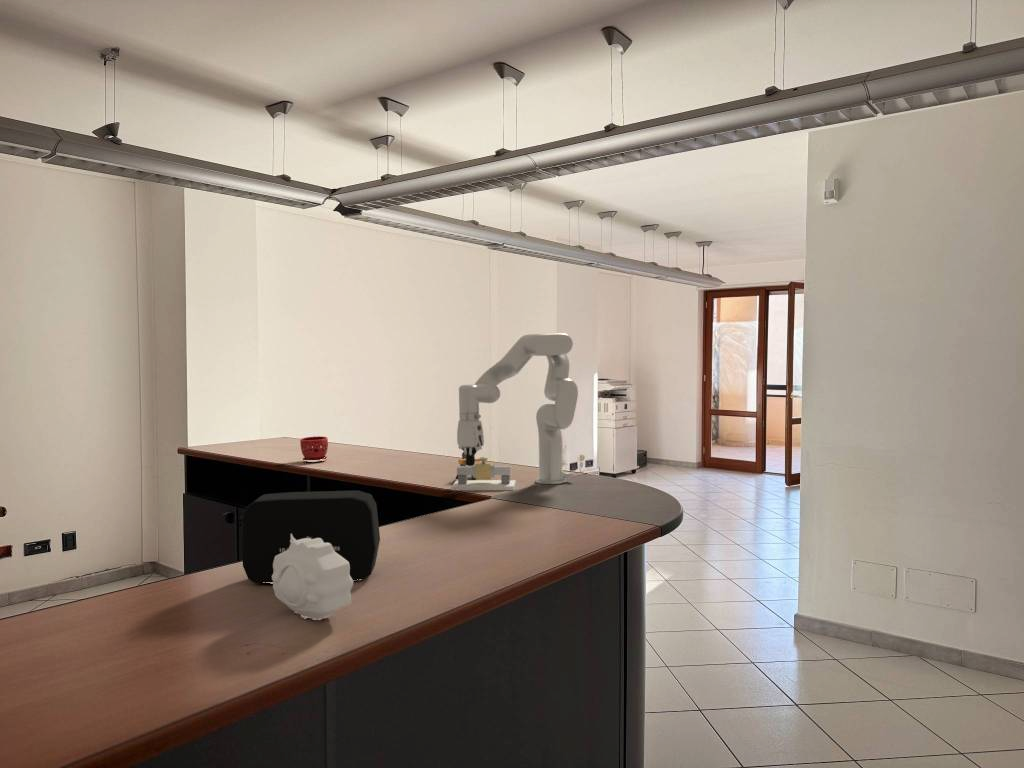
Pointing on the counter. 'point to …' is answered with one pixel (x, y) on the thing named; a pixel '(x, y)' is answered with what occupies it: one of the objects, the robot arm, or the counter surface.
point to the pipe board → (484, 484)
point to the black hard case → (310, 529)
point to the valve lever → (463, 461)
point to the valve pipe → (484, 470)
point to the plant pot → (314, 447)
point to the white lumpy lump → (312, 578)
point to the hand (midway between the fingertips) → (470, 464)
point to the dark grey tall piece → (465, 465)
